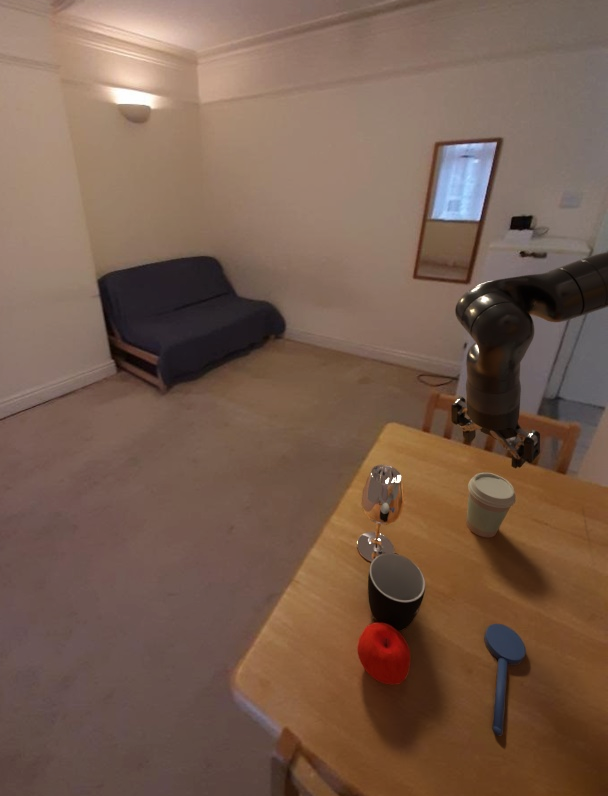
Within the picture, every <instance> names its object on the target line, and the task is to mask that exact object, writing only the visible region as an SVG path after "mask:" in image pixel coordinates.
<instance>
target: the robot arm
mask: <svg viewBox="0 0 608 796" xmlns="http://www.w3.org/2000/svg"><path fill="white" fill-rule="evenodd" d="M606 308H608V251H605V252H601V253H596V254H593V255H590V256H587V257H584V258H581V259H578V260H575V261H572V262H569V263H567V264H565V265H561V266H559V267H555V268H554V269H551V270H549V271H545V272H542V273H535V274H534V273H533V274H525V275H524V274H523V275H519V276H512V277H505V278H499V279H495V280H494V279H493V280H490V281H485V282H482V283H479V284H478V285H475V286H473V287H471V288H470V289H468V290H467V291H466V292H465V293H463V295H462V296H460V298H459V299H458V300H457V303H456V305H455V309H454V312H455V317H456V319H457V321H458V322H459V323H460V325H461V326H462V327H463V328H464V330H465V331H466V332H467V334H469V335H470V337H471V338H472V339H473V340H474V343H472V345H471V346H470V347H469V348H468V350H467V354H466V359H465V360H466V362H465V363H466V365H465V366H466V382H465V390H466V391H465V392H466V399H465V397H464V396H459V397H458V398H456V400H455V401H454V402H453V403H452V404H451V406H450V408H451V409H450V410H451V411H450V415H451V417H450V418H451V419H450V420H451V423H452V424H453V425H456V426H457V425H459V427H460V429H461V431H462V437H463V438H464V439H465V442H466V443H467V444H471V443H472V442H473V441H474V440H475V438H476V436H477V435H476V433H477V432H476V430H479V431H480V432H481V433H483V434H485V435H488V436H490V437H491V438H493V439H495V440H497V442H498V443H499V444H500V445H501V447H502V448H503V449H504V450H508V451H509V452H510V454H511V467H512V468H513V469H517V468H519V469H520V468H522V467H523V465H524V464H526V462H527V463H528V464H532V463H533V462H534V460H536V458H537V457H538V456H539V455H540V454H541V433H540V432H539V431H538V430H533V429H532V430H531V431H530V432H528V431H526V430H524V429H522V427H521V425H520V424H519V419H520V410H521V409H520V408H521V395H522V394H521V393H522V385H521V380H520V379H521V378H520V377H521V363H522V361H523V359H524V357H525V356H526V353H527V352H528V350H529V348H530V346H531V344H532V342H533V340H534V336H535V324H534V321H533V318H532V316H535V317H539V318H541V319H543V320H545V321H547V322H549V323H563V322H567V321H570V320H573V319H577V318H578V317H581V316H582V317H583V316H585V315H588V314H591V313H594V312H596V311H599V310H602V309H606ZM531 315H532V316H531ZM466 414H467V416H468V418H467V417H466ZM516 446H517V447H518V448H517V447H516Z"/></svg>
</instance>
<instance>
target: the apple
mask: <svg viewBox="0 0 608 796" xmlns="http://www.w3.org/2000/svg"><path fill="white" fill-rule="evenodd" d="M357 655H358V659H359V661H360V663H361V666H362V667H363V669H364V670H365V671H366V672H367V673H368V674H369V676H371V677H372V679H374V680H376V682H380V683H382V684H387V685H399V684H401V683H403V682H404V681H405V680H406V678H407V676H408V674H409V671H410V666H411V650H410V647H409V644H408V642H407V641H406V640H405V638H404V636H403V634H402V633H401V631H397V630H396V629H395V628H393V627H392V626H391V625H388V624H386V623H378V622H374V623H373V622H372V623H370V624H368V625H367V626H366V627H365V628H364V629H363V631H362V633H361V635H360V636H359V638H358V644H357Z"/></svg>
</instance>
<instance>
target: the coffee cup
mask: <svg viewBox="0 0 608 796" xmlns="http://www.w3.org/2000/svg"><path fill="white" fill-rule="evenodd" d="M467 487H468V488H467V489H468V499H467V509H466V519H465V521H466V522H465V523H466V526H467V528H468V529H469V530H470V531H471V532H472V533H473V534H475V535H477V536H479V537H481V538H493V537H494V536H496V534H497V532H498V531H499V529H500V527H501V525H502V523H503V522H504V520H505V518H506V516H507V514H508V513H509V511H510V509H511V507H512V506H514V505H515V503H516V493H515V488H514V486H513V485H512V483H511V482H510V481H508V479H506V478H504V477H502V476H501V475H498V474H495V473H491V472H487V471H485V472H478V473H476V474H475V475H474V476H473V477H472V478H471V479H470V480H469V482H468V484H467Z"/></svg>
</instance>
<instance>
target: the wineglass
mask: <svg viewBox="0 0 608 796" xmlns="http://www.w3.org/2000/svg"><path fill="white" fill-rule="evenodd" d="M402 478H403V477H402V474H401V473H400V471H399V470H398V469H397V468H395V467H393V466H391V465H388V464H377V465H374V466H373V467H372V468H371V469H370V472H369V474H368V476H367V479H366V480H365V484H364V486H363V488H362V492H361V497H360V498H361V499H360V500H361V502H360V503H361V504H360V505H361V508H362V511H363V513H364V514H365V516H366V517H367V518H368V519H369V520H370V521H371V522H373V523H375V524H376V528H375V531H367V532H364V533H361V534H360V536H359V537H358V538H357V540H356V548H357V550H358V553H359V554H360V556H361V557H363V558H364V559H365V560H367V561H368V562H370V563H372V561H373V560H374V559H375V558H376V557H377V556H379V555H381V554H385V553H396V552H395V547H394V544H393V542H392V541H391V540H390V539H389V538H388V537H387V536H386V535H384V534H382V533H380V532H381V526H385V525H391V524H393V523H395V522H396V521H398V520H399V519H400V517H401V515H402V514H403V510H404V502H405V498H404V497H405V495H404V486H403V479H402Z"/></svg>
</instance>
